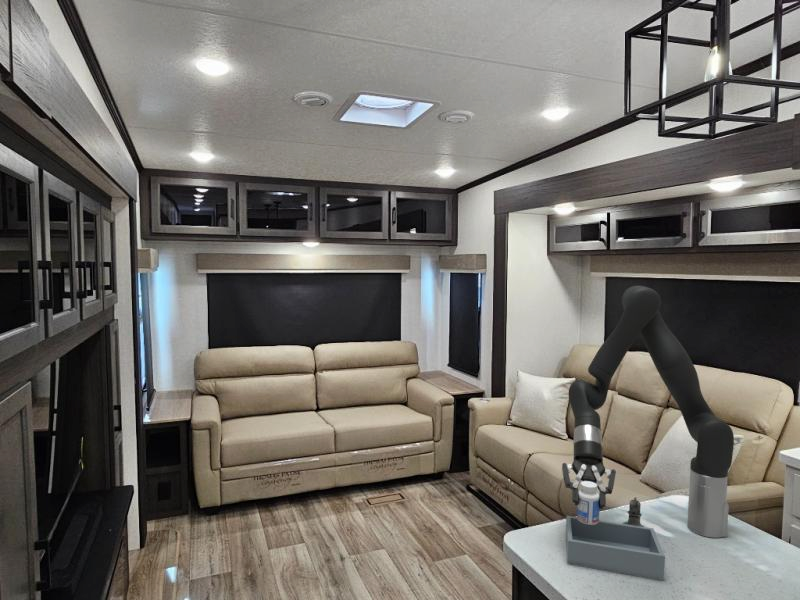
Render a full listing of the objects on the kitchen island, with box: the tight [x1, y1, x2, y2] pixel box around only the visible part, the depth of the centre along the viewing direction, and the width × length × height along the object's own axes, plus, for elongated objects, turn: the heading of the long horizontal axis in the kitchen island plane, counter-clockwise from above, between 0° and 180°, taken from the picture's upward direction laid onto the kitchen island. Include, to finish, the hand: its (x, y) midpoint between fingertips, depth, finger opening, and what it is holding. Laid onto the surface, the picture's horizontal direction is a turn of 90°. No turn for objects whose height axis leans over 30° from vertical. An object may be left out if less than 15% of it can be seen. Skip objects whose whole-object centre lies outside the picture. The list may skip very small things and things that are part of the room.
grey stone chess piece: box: [622, 497, 645, 527], centre depth 140 cm, size 6×6×12 cm
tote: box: [565, 515, 666, 581], centre depth 131 cm, size 22×14×6 cm, turn 74°
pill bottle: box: [576, 481, 600, 525], centre depth 132 cm, size 6×5×10 cm
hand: (588, 505), depth 131 cm, fingers closed on pill bottle, 5 cm apart
